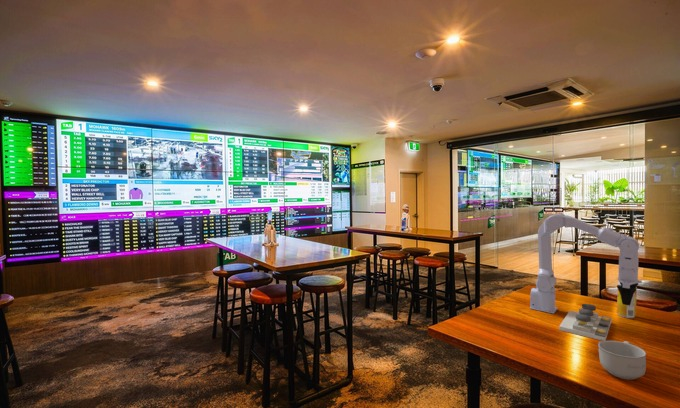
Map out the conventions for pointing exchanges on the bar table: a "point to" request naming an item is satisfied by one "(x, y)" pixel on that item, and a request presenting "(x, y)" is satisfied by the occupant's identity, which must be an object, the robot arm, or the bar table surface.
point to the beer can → (626, 306)
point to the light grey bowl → (622, 359)
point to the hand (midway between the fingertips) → (627, 302)
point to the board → (587, 326)
